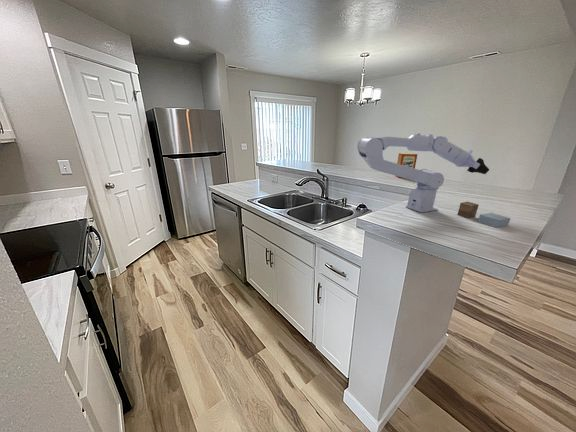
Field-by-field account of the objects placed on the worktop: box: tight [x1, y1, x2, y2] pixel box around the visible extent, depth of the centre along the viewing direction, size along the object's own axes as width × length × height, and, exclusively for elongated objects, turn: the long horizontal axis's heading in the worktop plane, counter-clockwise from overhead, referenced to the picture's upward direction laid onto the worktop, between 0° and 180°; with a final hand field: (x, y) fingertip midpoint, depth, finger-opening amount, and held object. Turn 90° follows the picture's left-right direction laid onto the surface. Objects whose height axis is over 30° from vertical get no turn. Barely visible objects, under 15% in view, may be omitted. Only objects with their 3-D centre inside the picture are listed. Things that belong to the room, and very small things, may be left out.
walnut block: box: [457, 201, 480, 219], centre depth 89 cm, size 4×4×5 cm
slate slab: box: [477, 212, 511, 229], centre depth 82 cm, size 6×6×3 cm
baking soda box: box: [395, 152, 418, 179], centre depth 159 cm, size 10×6×16 cm
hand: (479, 168), depth 93 cm, fingers open, 7 cm apart
